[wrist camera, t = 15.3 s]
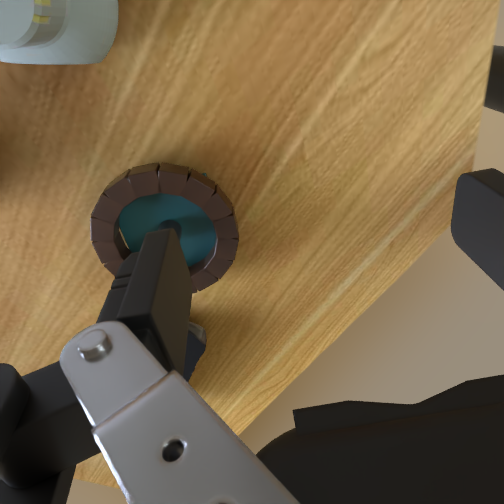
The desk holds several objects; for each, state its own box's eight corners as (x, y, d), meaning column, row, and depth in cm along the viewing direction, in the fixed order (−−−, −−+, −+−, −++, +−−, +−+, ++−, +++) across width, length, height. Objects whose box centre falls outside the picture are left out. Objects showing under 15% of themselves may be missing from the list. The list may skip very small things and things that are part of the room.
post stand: (205, 172, 36) (199, 225, 27) (226, 254, 42) (228, 322, 33) (108, 191, 37) (70, 250, 28) (142, 270, 42) (119, 341, 33)
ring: (220, 149, 34) (220, 157, 32) (248, 271, 42) (249, 282, 40) (72, 179, 35) (64, 188, 33) (127, 294, 43) (123, 306, 41)
